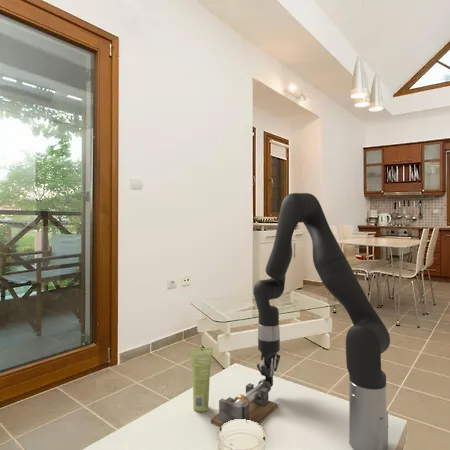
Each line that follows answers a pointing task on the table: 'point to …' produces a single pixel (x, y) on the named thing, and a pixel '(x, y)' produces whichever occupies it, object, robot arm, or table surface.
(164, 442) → the table surface
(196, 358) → the tube
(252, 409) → the bearing board
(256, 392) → the shaft
